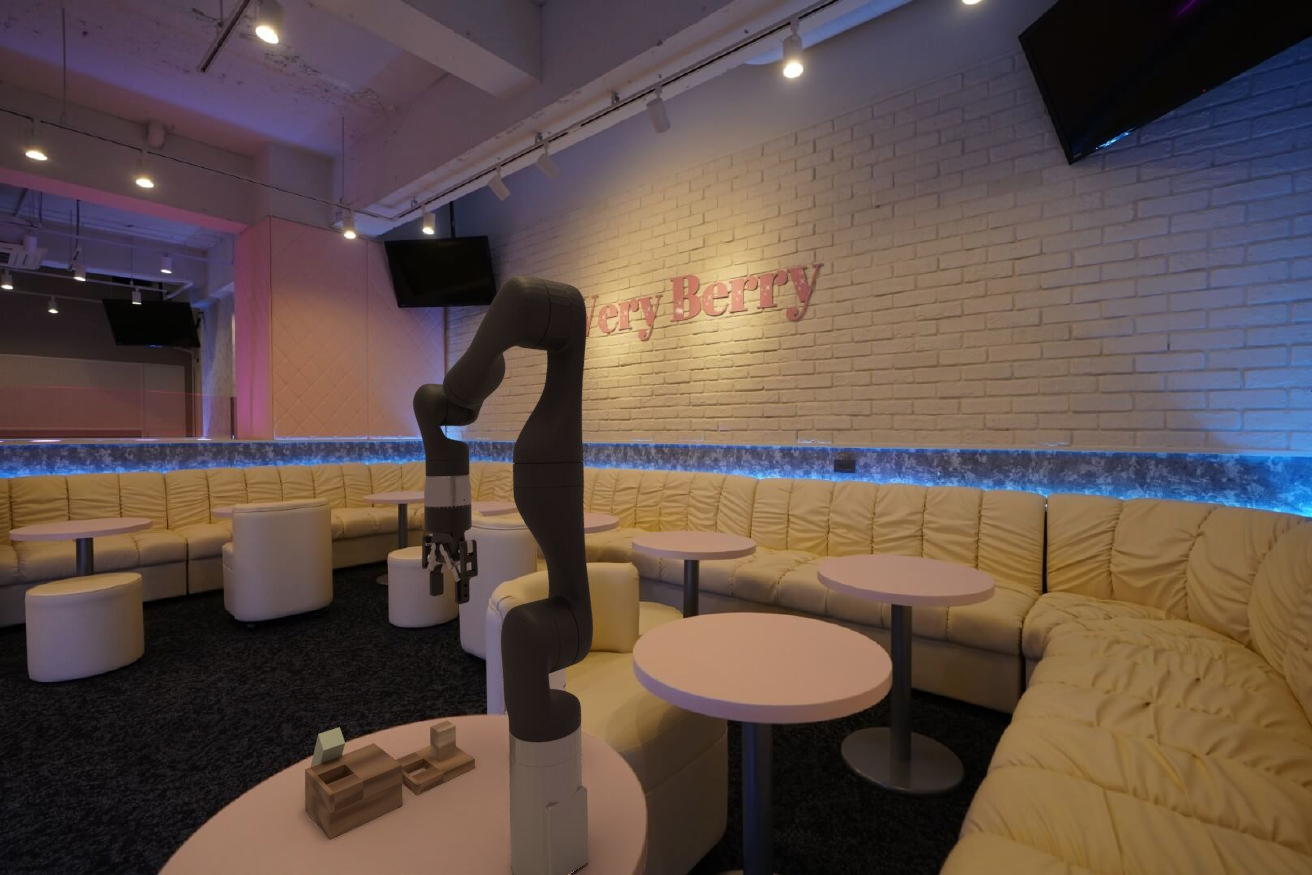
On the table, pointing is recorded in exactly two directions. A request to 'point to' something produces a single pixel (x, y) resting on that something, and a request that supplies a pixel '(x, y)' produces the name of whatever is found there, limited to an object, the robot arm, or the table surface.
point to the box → (352, 789)
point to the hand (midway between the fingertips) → (449, 599)
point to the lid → (436, 760)
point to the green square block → (328, 746)
